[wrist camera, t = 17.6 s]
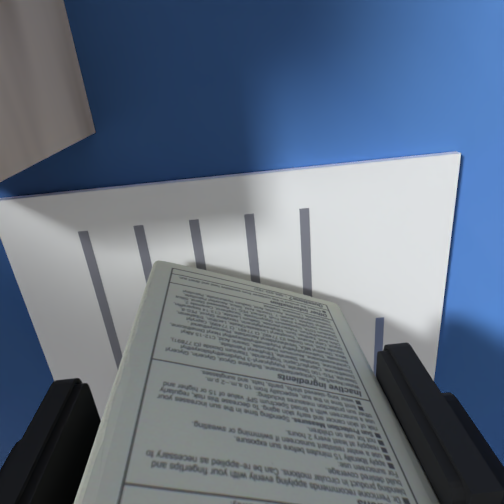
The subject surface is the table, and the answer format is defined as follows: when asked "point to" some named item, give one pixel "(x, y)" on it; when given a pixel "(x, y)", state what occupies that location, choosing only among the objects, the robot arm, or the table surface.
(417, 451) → the robot arm
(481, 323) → the table surface
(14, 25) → the block
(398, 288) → the letter
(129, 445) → the skincare box
